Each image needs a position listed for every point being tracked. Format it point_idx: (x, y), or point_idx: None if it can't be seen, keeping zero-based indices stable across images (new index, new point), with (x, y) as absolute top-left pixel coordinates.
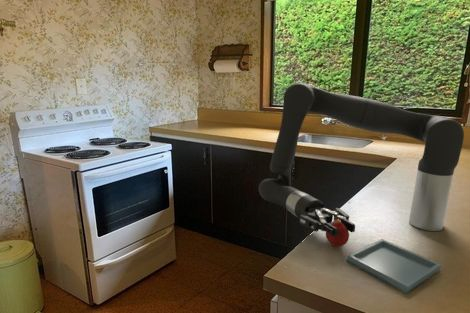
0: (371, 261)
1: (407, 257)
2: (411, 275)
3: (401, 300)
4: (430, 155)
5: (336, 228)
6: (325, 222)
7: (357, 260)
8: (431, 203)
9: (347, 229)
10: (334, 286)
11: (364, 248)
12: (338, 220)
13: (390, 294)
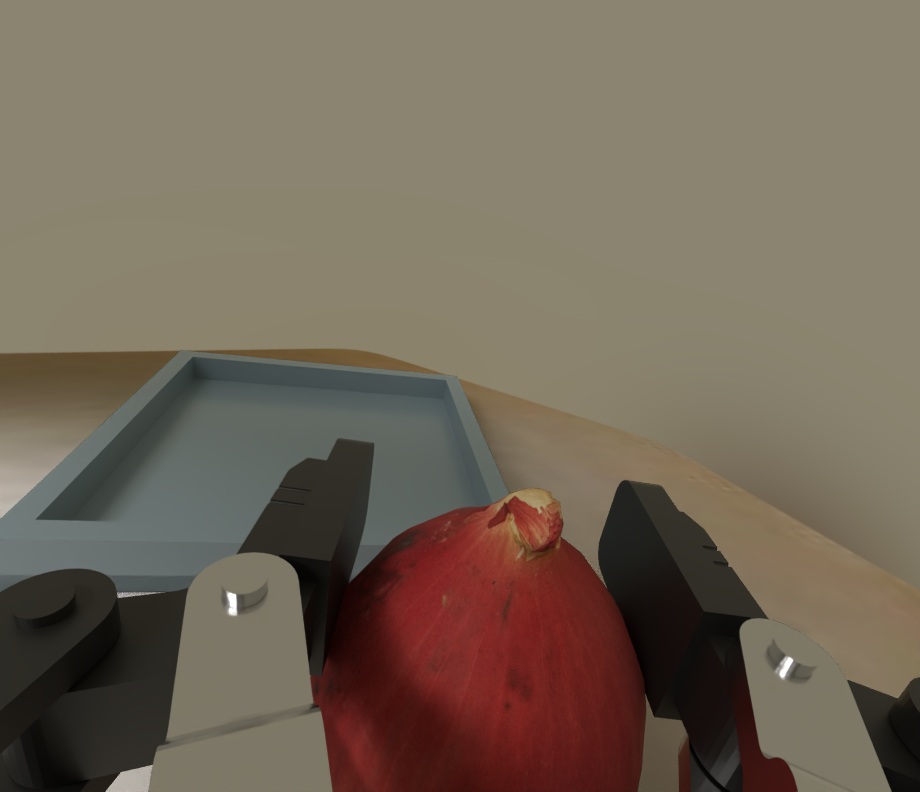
0: (388, 502)
1: (160, 435)
2: (339, 402)
3: (495, 405)
4: None
5: (636, 483)
6: (760, 626)
7: None
8: None
9: (393, 540)
10: (707, 515)
11: None
12: (541, 490)
13: (506, 422)
